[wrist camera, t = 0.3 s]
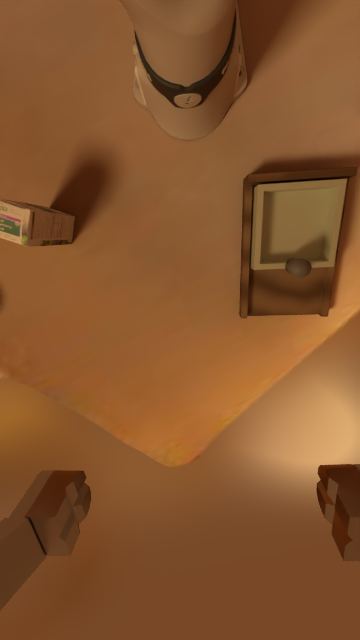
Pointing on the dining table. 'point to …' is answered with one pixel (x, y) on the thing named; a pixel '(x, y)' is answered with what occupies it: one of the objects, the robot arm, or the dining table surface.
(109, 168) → the dining table surface
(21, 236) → the syrup box
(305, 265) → the drawer
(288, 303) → the bay
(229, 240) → the dining table surface
